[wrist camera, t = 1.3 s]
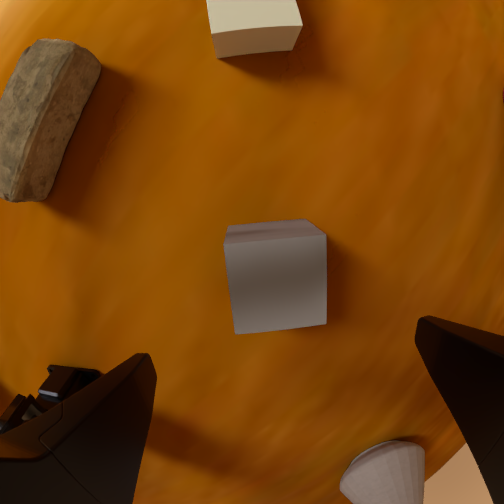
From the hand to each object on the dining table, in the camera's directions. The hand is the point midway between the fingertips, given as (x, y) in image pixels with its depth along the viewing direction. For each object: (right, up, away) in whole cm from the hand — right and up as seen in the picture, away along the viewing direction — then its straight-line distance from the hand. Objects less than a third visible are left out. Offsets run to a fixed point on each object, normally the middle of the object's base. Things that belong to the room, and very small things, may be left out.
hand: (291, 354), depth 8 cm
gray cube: (0, +3, +11) cm, 11 cm away
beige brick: (-2, +20, +6) cm, 21 cm away
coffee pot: (+14, -28, +20) cm, 37 cm away
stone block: (-16, +13, +8) cm, 22 cm away
